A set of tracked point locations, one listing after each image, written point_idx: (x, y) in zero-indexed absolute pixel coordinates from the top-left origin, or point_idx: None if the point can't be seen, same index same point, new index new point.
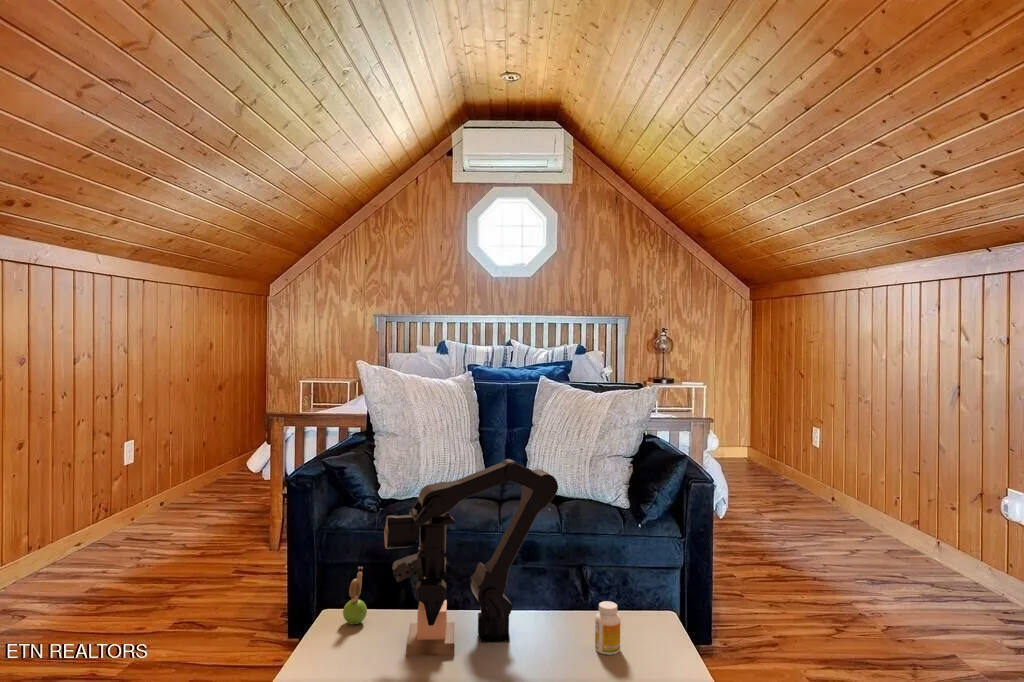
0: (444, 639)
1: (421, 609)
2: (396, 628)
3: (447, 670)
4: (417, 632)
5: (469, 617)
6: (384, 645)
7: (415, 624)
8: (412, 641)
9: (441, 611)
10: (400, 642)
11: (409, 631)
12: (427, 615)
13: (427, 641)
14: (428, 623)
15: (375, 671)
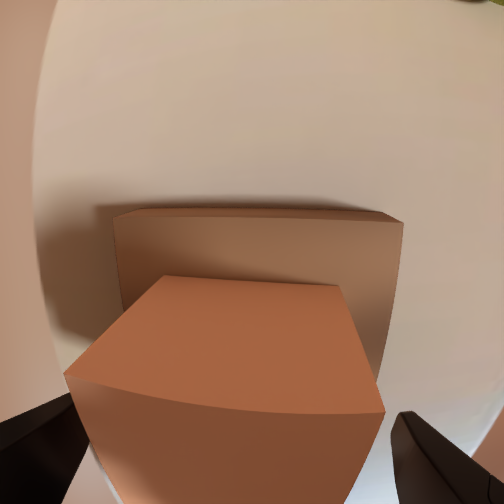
0: None
1: (114, 414)
2: (448, 140)
3: (69, 356)
4: (145, 293)
5: (452, 432)
6: (258, 80)
7: (380, 259)
8: (145, 248)
9: (121, 499)
10: (289, 162)
11: (282, 222)
12: (19, 420)
13: None
14: (69, 393)
15: (45, 102)
